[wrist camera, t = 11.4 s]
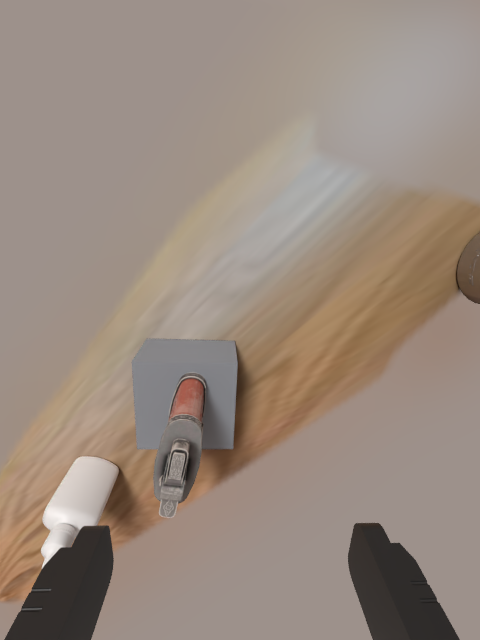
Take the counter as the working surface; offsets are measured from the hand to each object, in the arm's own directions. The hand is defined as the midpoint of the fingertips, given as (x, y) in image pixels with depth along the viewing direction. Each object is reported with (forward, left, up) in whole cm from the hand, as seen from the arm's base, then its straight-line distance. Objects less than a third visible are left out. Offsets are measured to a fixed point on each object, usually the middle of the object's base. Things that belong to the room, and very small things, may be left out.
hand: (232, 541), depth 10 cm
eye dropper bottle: (+16, +21, -25) cm, 36 cm away
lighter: (+3, +8, -19) cm, 21 cm away
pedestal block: (+4, +8, -25) cm, 27 cm away
